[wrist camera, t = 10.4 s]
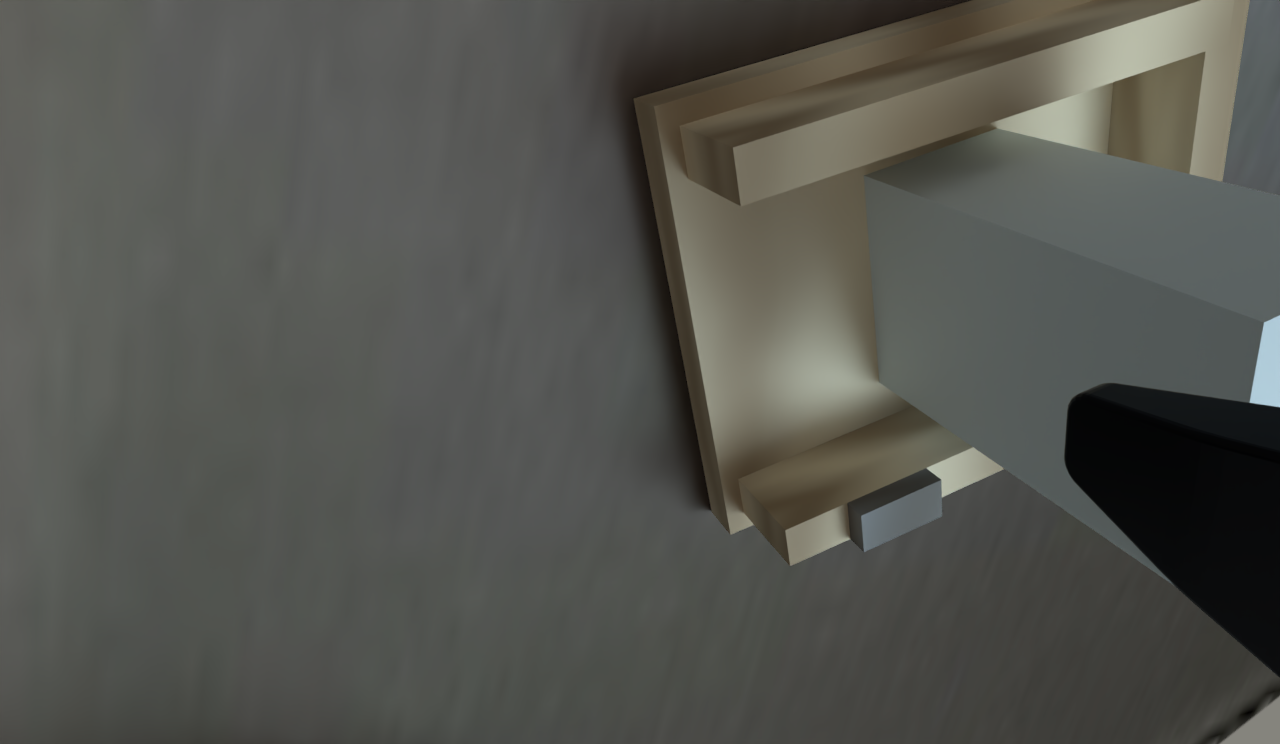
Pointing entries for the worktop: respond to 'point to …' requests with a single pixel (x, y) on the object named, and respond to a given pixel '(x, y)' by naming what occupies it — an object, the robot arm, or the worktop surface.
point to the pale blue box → (1065, 294)
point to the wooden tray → (838, 233)
